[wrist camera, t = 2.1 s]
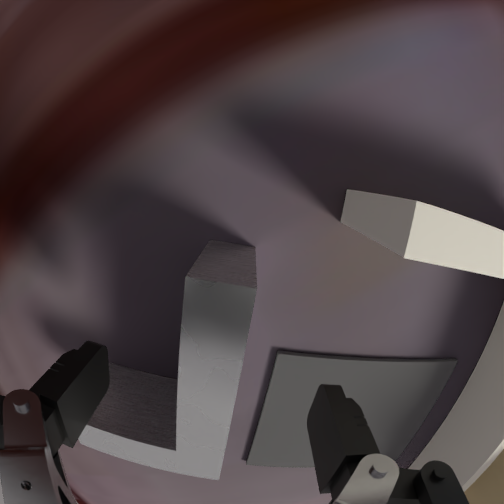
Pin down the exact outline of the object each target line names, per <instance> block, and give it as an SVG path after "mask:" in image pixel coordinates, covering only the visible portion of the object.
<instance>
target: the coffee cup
mask: <svg viewBox="0 0 504 504" xmlns="http://www.w3.org/2000/svg"><path fill="white" fill-rule="evenodd" d="M464 493H465V495H466V498H467V500H468V502H469V504H504V449H503V450H502V452H501V453H500V454H499V455H498V456H497V458H496V459H495V460H494V461H493V462H492V463H491V465H490V466H489V467H488V468H487V469H486V470H485V471H484V472H483V473H482V474H481V476H480V477H479V478H478V479H477V480H476V481H475V482H474V483H473V484H472V485H471V486H470V487H469V488H468V489H467V490H466V491H465V492H464Z"/></svg>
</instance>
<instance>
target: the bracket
mask: <svg viewBox="0 0 504 504" xmlns="http://www.w3.org/2000/svg"><path fill="white" fill-rule="evenodd" d="M256 291H257V277H256V251H255V247H252V246H246V245H240V244H234V243H228V242H221V241H215V240H210V241H209V242H208V243H207V245H206V246H205V248H204V249H203V251H202V252H201V254H200V255H199V257H198V258H197V260H196V261H195V263H194V264H193V266H192V268H191V269H190V271H189V272H188V274H187V275H186V277H185V287H184V298H183V309H182V321H181V334H180V349H179V366H178V379H173V378H169V377H164V376H160V375H155V374H151V373H147V372H143V371H139V370H135V369H132V368H128V367H124V366H121V365H117V364H114V363H109V373H110V383H109V388H108V390H107V392H106V394H105V396H104V397H103V399H102V400H101V402H100V404H99V405H98V407H97V408H96V410H95V412H94V413H93V415H92V417H91V418H90V420H89V421H88V423H87V425H86V426H85V428H84V430H83V431H82V433H81V435H80V436H79V441H80V444H83V445H85V446H88V447H90V448H93V449H96V450H98V451H101V452H104V453H107V454H110V455H113V456H116V457H119V458H122V459H125V460H128V461H132V462H135V463H138V464H142V465H146V466H149V467H153V468H157V469H161V470H166V471H170V472H175V473H180V474H185V475H190V476H195V477H201V478H208V479H214V480H219V477H220V472H221V467H222V463H223V458H224V453H225V448H226V443H227V438H228V434H229V429H230V424H231V419H232V414H233V409H234V404H235V399H236V394H237V389H238V384H239V379H240V374H241V369H242V364H243V359H244V354H245V348H246V343H247V338H248V333H249V328H250V323H251V317H252V312H253V307H254V302H255V296H256Z"/></svg>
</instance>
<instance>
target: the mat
mask: <svg viewBox="0 0 504 504" xmlns="http://www.w3.org/2000/svg"><path fill="white" fill-rule="evenodd" d="M457 362H458V360H457V359H379V358H358V357H341V356H328V355H316V354H306V353H296V352H287V351H277V355H276V359H275V363H274V367H273V370H272V374H271V378H270V382H269V385H268V389H267V393H266V396H265V400H264V404H263V407H262V411H261V414H260V418H259V421H258V425H257V428H256V431H255V435H254V438H253V441H252V445H251V448H250V451H249V455H248V458H247V461H246V465H256V466H270V467H315V465H314V460H313V455H312V450H311V445H310V440H309V435H308V430H307V417H308V413H309V410H310V408H311V405H312V403H313V400H314V397H315V395H316V392H317V390H318V387H319V386H320V385H321V384H330V385H341V386H342V389H343V391H344V394H345V396H346V398H352V399H353V400H354V401H355V402H356V403H357V404H358V405H359V406H360V407H361V409H362V411H363V414H364V416H365V417H364V418H366V421H367V423H368V426H369V427H370V430H371V432H372V435H373V437H374V439H375V442H376V444H377V446H378V449H379V451H380V453H381V454H382V455H386V456H388V457H390V458H391V459H393V460H397V459H398V457H399V456H400V455H401V453H402V452H403V451H404V449H405V448H406V447H407V445H408V444H409V443H410V441H411V440H412V438H413V437H414V435H415V434H416V433H417V431H418V430H419V428H420V427H421V425H422V424H423V422H424V421H425V419H426V417H427V416H428V414H429V413H430V411H431V409H432V408H433V406H434V404H435V403H436V401H437V399H438V398H439V396H440V394H441V392H442V391H443V389H444V387H445V385H446V383H447V382H448V380H449V378H450V376H451V374H452V372H453V370H454V368H455V366H456V364H457Z"/></svg>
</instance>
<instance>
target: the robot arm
mask: <svg viewBox="0 0 504 504" xmlns="http://www.w3.org/2000/svg"><path fill="white" fill-rule="evenodd" d="M109 383H110V373H109V363H108V351H107V347H106V346H104V345H101V344H98V343H94V342H91V341H86V342H85V343H84V344H83V345H82V346H81V347H80V348H79V349H78V350H75V349H73V350H71V351H69V352H67V353H65V354H63V355H62V356H61V357H60V358H59V359H58V360H57V361H56V363H54V364H53V365H52V366H51V367H50V369H48V370H47V371H46V373H45V374H44V375H43V376H42V377H41V378H40V379H39V380H38V381H37V382H36V383H35V384H34V385H33V386H32V387H31V389H30V390H24V389H19V390H14V391H12V392H10V393H9V394H7V395H6V396H2V395H0V478H1V485H2V491H3V497H4V503H5V504H77V503H76V501H75V499H74V497H73V495H72V492H71V489H70V486H69V483H68V480H67V477H66V473H65V470H64V466H63V463H62V459H61V455H60V452H59V448H60V446H61V445H62V444H65V445H67V446H69V447H71V448H73V447H74V445H75V443H76V441H77V440H78V438H79V436H80V435H81V433H82V431H83V430H84V428H85V426H86V425H87V423H88V421H89V420H90V418H91V417H92V415H93V413H94V412H95V410H96V408H97V407H98V405H99V404H100V402H101V400H102V399H103V397H104V396H105V394H106V392H107V390H108V388H109ZM364 417H365V416H364V414H363V411H362V409H361V407H360V406H359V405H358V404H357V403H356V402H355V401H354V400H353V399H352V398H346V396H345V394H344V391H343V389H342V386H341V385H330V384H321V385H320V386H319V387H318V390H317V392H316V395H315V397H314V400H313V403H312V405H311V408H310V410H309V413H308V417H307V430H308V435H309V440H310V445H311V450H312V455H313V460H314V465H315V470H316V475H317V481H318V486H319V491H320V494H323V493H331V496H332V500H331V501H330V502H329V504H469V502H468V500H467V498H466V495H465V493H464V491H463V489H462V487H461V485H460V483H459V481H458V479H457V477H456V475H455V473H454V471H453V469H452V468H451V467H450V466H449V465H448V464H446V463H444V462H442V461H437V460H434V461H429V462H427V463H426V464H425V465H424V466H423V467H422V468H421V469H420V470H414V469H404V468H399V467H398V465H397V464H396V462H395V461H394V460H393V459H391V458H390V457H388V456H386V455H382V454H381V453H380V451H379V449H378V446H377V444H376V442H375V439H374V437H373V435H372V432H371V430H370V427H369V426H368V423H367V421H366V418H364Z"/></svg>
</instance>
